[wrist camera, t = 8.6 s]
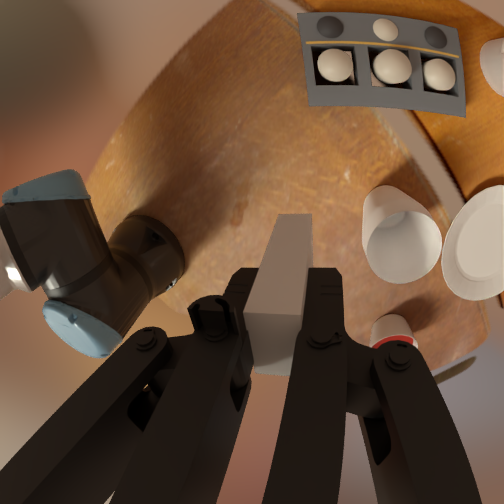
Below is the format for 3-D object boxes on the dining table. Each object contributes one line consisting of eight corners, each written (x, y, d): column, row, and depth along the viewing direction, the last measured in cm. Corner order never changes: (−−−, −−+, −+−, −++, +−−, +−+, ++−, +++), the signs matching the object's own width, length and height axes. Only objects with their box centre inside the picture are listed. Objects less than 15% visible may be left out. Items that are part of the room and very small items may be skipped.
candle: (375, 348, 50) (377, 373, 45) (358, 320, 47) (360, 346, 42) (416, 332, 46) (422, 357, 41) (404, 301, 43) (411, 327, 38)
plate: (487, 306, 39) (491, 313, 37) (414, 267, 40) (417, 275, 38) (544, 218, 28) (551, 224, 26) (478, 154, 28) (485, 158, 27)
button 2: (372, 83, 27) (379, 81, 24) (369, 52, 25) (375, 47, 22) (404, 85, 26) (413, 84, 23) (400, 55, 24) (409, 51, 21)
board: (310, 105, 32) (308, 106, 29) (299, 21, 26) (296, 12, 23) (453, 115, 27) (466, 118, 23) (445, 33, 21) (457, 28, 18)
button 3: (418, 88, 26) (428, 87, 23) (415, 59, 25) (424, 56, 21) (444, 92, 25) (456, 92, 22) (442, 64, 24) (453, 61, 20)
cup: (371, 165, 34) (391, 194, 24) (425, 194, 34) (457, 232, 24) (344, 221, 39) (349, 267, 29) (395, 245, 39) (414, 295, 29)
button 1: (319, 83, 30) (319, 81, 27) (316, 54, 28) (315, 48, 25) (351, 83, 29) (354, 81, 26) (348, 54, 27) (350, 48, 24)
